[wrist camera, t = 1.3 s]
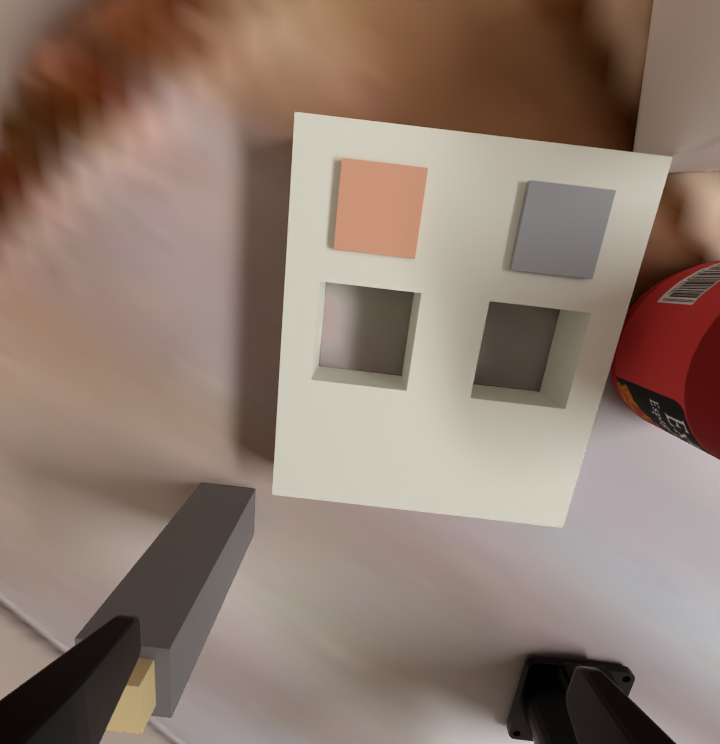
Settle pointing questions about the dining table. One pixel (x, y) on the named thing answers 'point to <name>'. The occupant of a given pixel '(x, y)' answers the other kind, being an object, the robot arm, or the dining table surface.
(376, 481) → the socket board
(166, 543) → the plug
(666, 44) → the medicine bottle
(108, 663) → the robot arm
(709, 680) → the dining table surface
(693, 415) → the canned food
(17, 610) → the dining table surface
